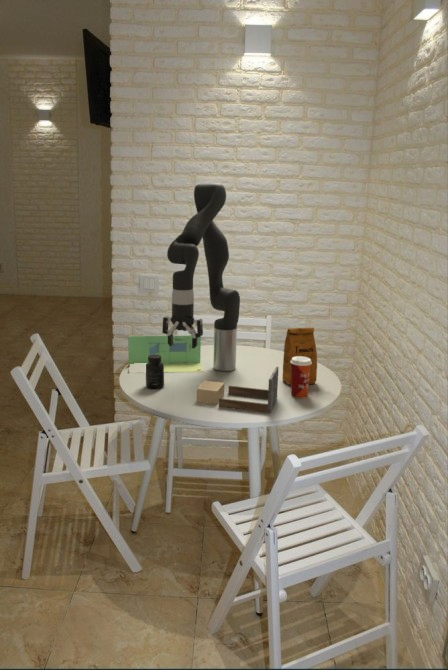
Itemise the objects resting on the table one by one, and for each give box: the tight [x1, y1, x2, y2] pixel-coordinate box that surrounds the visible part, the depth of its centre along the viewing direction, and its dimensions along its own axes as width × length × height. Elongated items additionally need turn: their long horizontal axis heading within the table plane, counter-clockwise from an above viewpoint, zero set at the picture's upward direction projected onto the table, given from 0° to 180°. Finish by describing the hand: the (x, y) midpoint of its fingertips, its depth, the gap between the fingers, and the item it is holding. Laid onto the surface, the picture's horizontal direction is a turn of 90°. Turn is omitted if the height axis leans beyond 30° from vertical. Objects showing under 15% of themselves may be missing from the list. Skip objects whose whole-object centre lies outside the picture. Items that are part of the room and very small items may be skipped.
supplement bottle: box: [145, 355, 165, 391], centre depth 221 cm, size 7×7×12 cm
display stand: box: [127, 334, 204, 374], centre depth 243 cm, size 30×12×12 cm, turn 97°
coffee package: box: [282, 327, 318, 386], centre depth 228 cm, size 10×12×22 cm
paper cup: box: [290, 356, 312, 399], centre depth 215 cm, size 8×8×14 cm
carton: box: [196, 380, 225, 405], centre depth 212 cm, size 9×8×5 cm
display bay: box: [218, 366, 280, 414], centre depth 207 cm, size 14×18×12 cm
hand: (182, 346), depth 210 cm, fingers open, 8 cm apart
